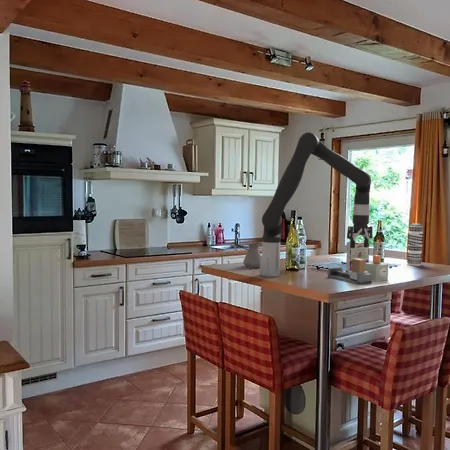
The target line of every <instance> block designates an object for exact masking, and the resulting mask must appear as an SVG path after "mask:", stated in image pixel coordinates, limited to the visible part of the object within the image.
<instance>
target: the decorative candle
mask: <svg viewBox="0 0 450 450" xmlns="http://www.w3.org/2000/svg"><path fill="white" fill-rule="evenodd" d="M408 226H409V229H408V233H407V238H408V239H407V246H408V247H407V249H408V250H407V253H406V254H407V258H406V265H408V266H412V267H413V266H415V267H419V266H420V267H421V266H422V264H423V262H422V261H423V259H422V258H423V251H422V249H423V248H422V247H423V245H424V243H423V242H424V237H423V236H425V235H424V233H423V232H424V231H423V230H424V228H423V227H424V225H422V224H421V223H411V224H410V225H408Z"/></svg>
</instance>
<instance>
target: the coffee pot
mask: <svg viewBox="0 0 450 450" xmlns="http://www.w3.org/2000/svg"><path fill="white" fill-rule="evenodd" d="M232 244H233V245H234V246H237V247H238V248H242V249H244V250H246V251H247V252H246V254H245V257H244V258H243V262H242V263H243V265H244V266H245V267H246V268H247V269H260V257H261V256H262V254H261V252H260V250H259V248H260V247H259V246H260V244H257V243H248V244H247V246H248V248H247V247H244V246H243V245H241V244H239V243H236V242H234V241H233V242H231V244H230V245H231V246H232V247H233V245H232Z"/></svg>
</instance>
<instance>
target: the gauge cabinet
mask: <svg viewBox="0 0 450 450" xmlns="http://www.w3.org/2000/svg"><path fill="white" fill-rule="evenodd" d="M365 272H368V274H369V273H370V274H372V282H382V281H389V279H388V278H389V264H388V263H383V262H380V264H373V261H372V262H370V261H369V263H365Z"/></svg>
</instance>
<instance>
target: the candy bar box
mask: <svg viewBox="0 0 450 450" xmlns="http://www.w3.org/2000/svg"><path fill="white" fill-rule="evenodd" d="M369 256H370V244H369V245H368V248H366V247H364V241H355V248H351V247H350V241H347V242H346V257H345V258H346V262H345V264H346V265H345V269H346V271H345V272H347V273H348V271H352V259H355V258H359V259H364V260H365V263H369V262H370V261H369V260H370V257H369Z"/></svg>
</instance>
